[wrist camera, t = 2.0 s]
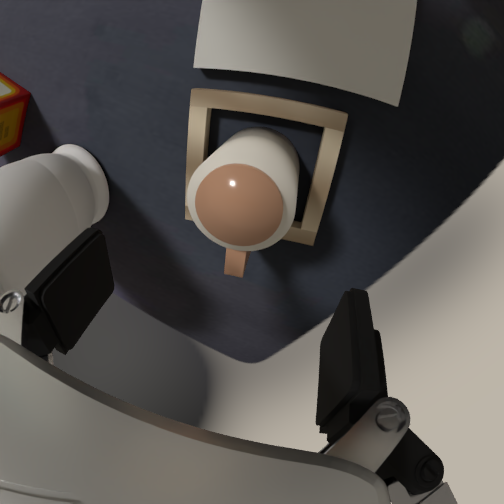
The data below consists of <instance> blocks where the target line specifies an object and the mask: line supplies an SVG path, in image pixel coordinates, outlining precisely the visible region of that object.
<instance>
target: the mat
mask: <svg viewBox="0 0 504 504" xmlns="http://www.w3.org/2000/svg"><path fill="white" fill-rule="evenodd" d="M416 5H417V0H203V1H202V8H201V14H200V21H199V28H198V35H197V42H196V50H195V59H194V68H211V69H225V70H237V71H246V72H255V73H262V74H270V75H276V76H282V77H288V78H294V79H299V80H304V81H309V82H313V83H318V84H322V85H327V86H331V87H335V88H339V89H342V90H346V91H350V92H353V93H357V94H360V95H364V96H367V97H370V98H373V99H376V100H379V101H382V102H385V103H388V104H391V105H394V106H397V107H398V105H399V100H400V96H401V92H402V88H403V83H404V78H405V74H406V69H407V64H408V58H409V53H410V47H411V41H412V35H413V28H414V21H415V14H416Z"/></svg>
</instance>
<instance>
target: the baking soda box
mask: <svg viewBox="0 0 504 504" xmlns="http://www.w3.org/2000/svg"><path fill="white" fill-rule="evenodd" d="M30 95H31V93H30V92H29V91H27V90H26V89H24V88H23V87H21V86H20V85H18V84H17V83H15V82H14V81H12V80H11V79H9V78H8V77H7V76H5V75H4V74H2V73H1V72H0V156H2V155H4V154H6V153H8V152H9V151H11V150H13V149H15V148H17V147H19V146H20V143H21V136H22V131H23V126H24V121H25V116H26V111H27V107H28V103H29V99H30Z"/></svg>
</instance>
